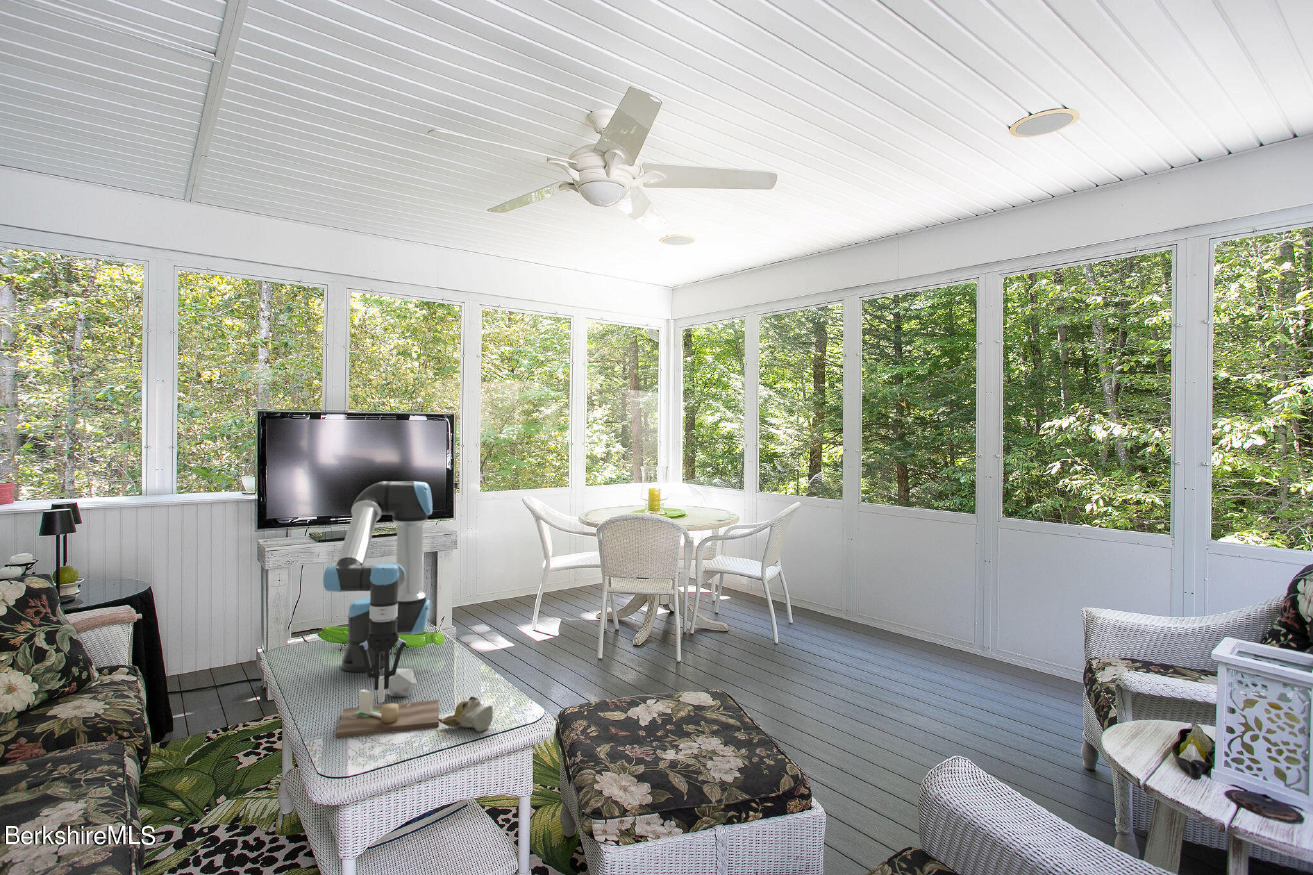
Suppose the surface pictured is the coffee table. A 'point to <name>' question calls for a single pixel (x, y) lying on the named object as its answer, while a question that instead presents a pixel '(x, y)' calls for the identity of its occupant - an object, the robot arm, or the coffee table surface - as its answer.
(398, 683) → the die
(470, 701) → the ceramic sculpture
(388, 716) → the knob lever
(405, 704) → the dial plate
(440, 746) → the coffee table surface
